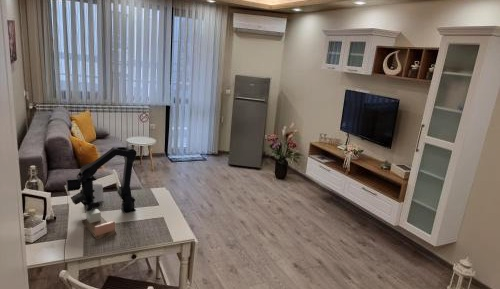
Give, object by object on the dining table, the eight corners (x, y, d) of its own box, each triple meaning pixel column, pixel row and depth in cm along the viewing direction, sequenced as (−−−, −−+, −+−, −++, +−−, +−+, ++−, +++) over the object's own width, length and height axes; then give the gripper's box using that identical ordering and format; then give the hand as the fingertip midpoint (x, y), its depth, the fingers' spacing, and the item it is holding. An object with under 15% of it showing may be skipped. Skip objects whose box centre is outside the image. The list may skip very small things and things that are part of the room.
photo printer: (102, 198, 222) (101, 180, 219) (103, 201, 219) (103, 183, 215) (85, 201, 216) (84, 183, 213) (86, 204, 213) (85, 185, 210)
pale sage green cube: (97, 216, 196) (97, 208, 195) (100, 220, 193) (100, 212, 191) (86, 219, 192) (86, 211, 191) (89, 223, 189) (89, 215, 187)
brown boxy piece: (100, 217, 199) (99, 207, 197) (116, 233, 184) (116, 222, 182) (81, 222, 192) (81, 211, 190) (97, 239, 177) (96, 228, 175)
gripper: (66, 185, 194) (68, 210, 198) (78, 197, 181) (79, 224, 185) (87, 181, 202) (88, 205, 206) (99, 192, 189) (100, 218, 193)
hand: (88, 213), depth 197 cm, fingers closed
